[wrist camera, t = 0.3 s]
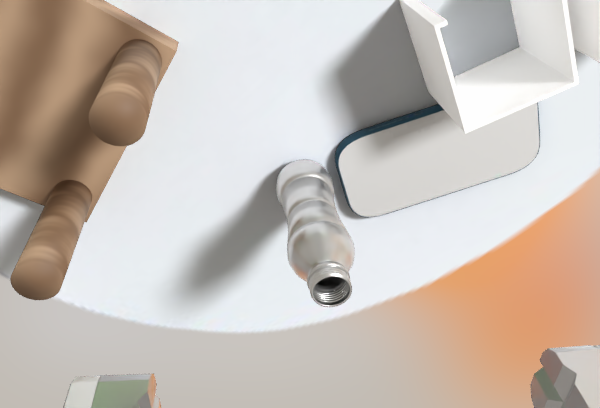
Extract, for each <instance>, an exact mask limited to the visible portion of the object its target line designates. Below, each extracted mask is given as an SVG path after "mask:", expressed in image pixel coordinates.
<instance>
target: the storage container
mask: <svg viewBox="0 0 600 408" xmlns="http://www.w3.org/2000/svg"><path fill="white" fill-rule="evenodd" d="M399 2H400V5H401V8H402V11H403V14H404V17H405V20H406V24H407V27H408V30H409V33H410V36H411V39H412V42H413V45H414V49H415V52H416V55H417V58H418V61H419V64H420V67H421V71H422V74H423V77H424V80H425V83H426V86H427V89H428V92H429V93H430V94H431V95H432V97H433V98H434V99H435V100H436V101H437V102H438V103H439V105H440V106H441V107H442V108H443V109H444V110H445V111H446V112H447V114H448V115H449V116H450V117H451V118H452V119H453V120H454V121H455V123H456V124H457V125H458V126H459V127H460V128H461V129H462V130H463V132H464V133H465V134H466V133H468V132H471V131H473V130H475V129H478V128H480V127H482V126H484V125H487V124H489V123H491V122H493V121H496V120H498V119H500V118H503V117H505V116H507V115H509V114H512V113H514V112H516V111H518V110H521V109H523V108H525V107H528V106H530V105H532V104H534V103H537V102H539V101H541V100H543V99H546V98H548V97H550V96H553V95H555V94H557V93H559V92H562V91H564V90H566V89H568V88H571V87H573V86H575V85H578V84H579V80H578V73H577V66H576V59H575V52H574V49H575V50H577V51H579V52H581V53H583V54H584V55H586V56H588V57H590V58H592V59H593V60H595V61H597V62H599V63H600V0H510V2H511V7H512V12H513V17H514V22H515V26H516V31H517V36H518V41H519V46H520V47H518V48H516V49H514V50H512V51H510V52H507V53H505V54H503V55H501V56H499V57H496V58H494V59H492V60H490V61H488V62H485V63H483V64H481V65H479V66H477V67H474V68H472V69H470V70H468V71H466V72H463V73H461V74H459V75H457V76H455V77H454V76H453V73H452V69H451V66H450V62H449V59H448V55H447V52H446V48H445V45H444V41H443V38H442V34H441V31H440V28H442V27H444V26H446V25H448V22H447V20H446V19H445V18H443V17H442V16H440V15H439V14H438V13H436V12H435V11H434V10H432V9H431V8H429V7H428V6H427V5H425V4H424V3H422V2H421V1H420V0H399Z"/></svg>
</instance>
